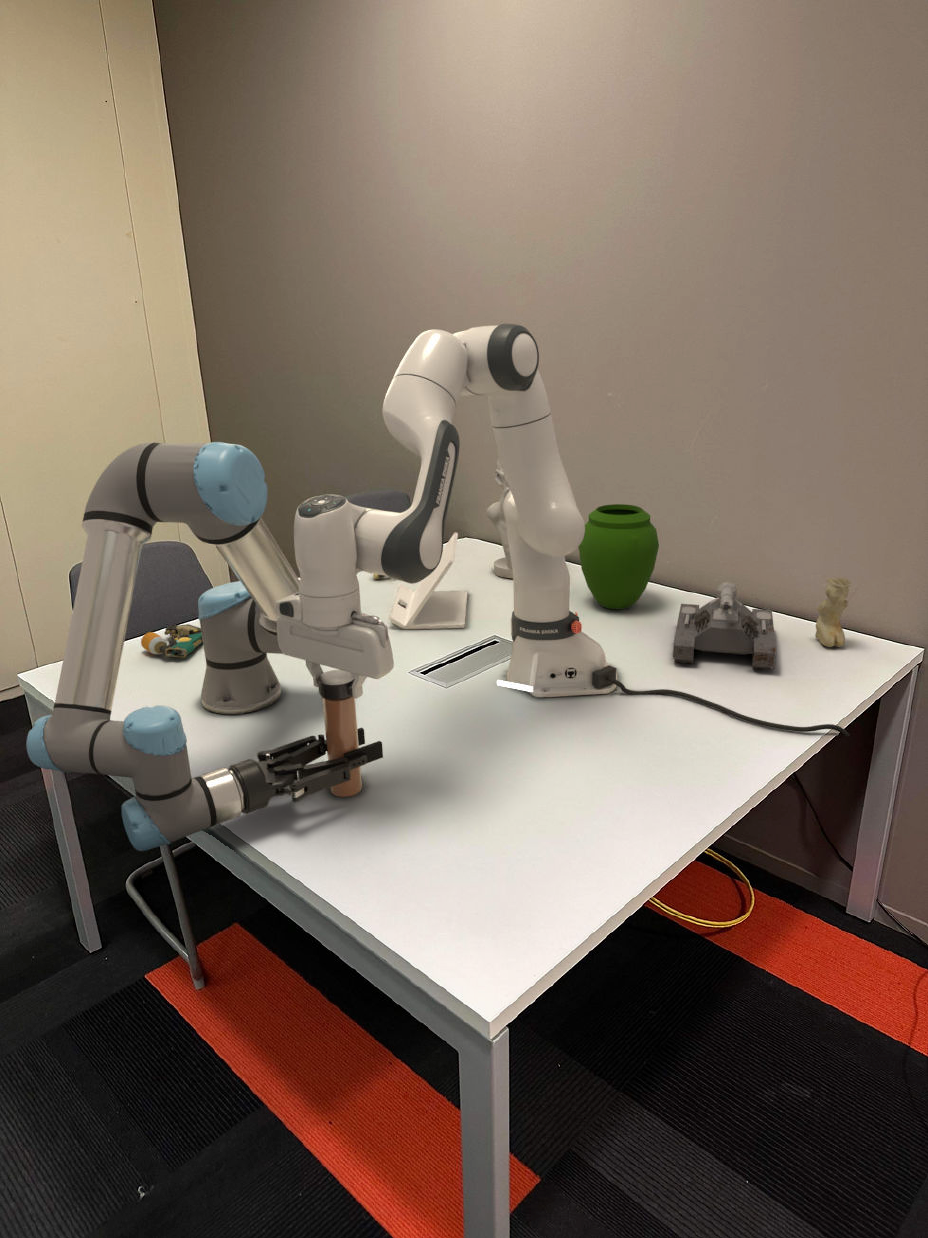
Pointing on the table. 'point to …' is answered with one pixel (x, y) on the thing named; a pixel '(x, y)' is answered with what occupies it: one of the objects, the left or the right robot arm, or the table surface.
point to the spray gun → (173, 641)
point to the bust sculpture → (501, 526)
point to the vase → (618, 554)
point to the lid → (335, 684)
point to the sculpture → (832, 613)
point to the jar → (342, 739)
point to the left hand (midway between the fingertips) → (372, 742)
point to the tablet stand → (431, 600)
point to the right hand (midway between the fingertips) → (338, 691)
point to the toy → (725, 629)
